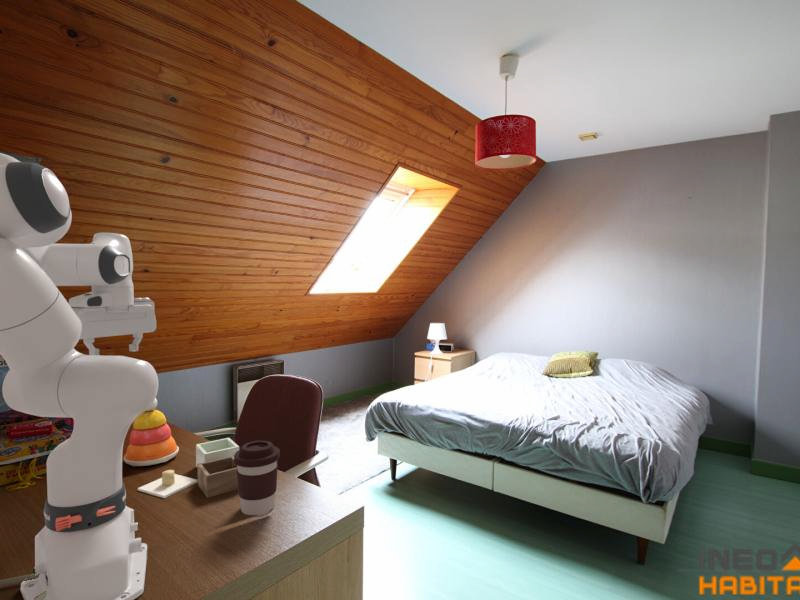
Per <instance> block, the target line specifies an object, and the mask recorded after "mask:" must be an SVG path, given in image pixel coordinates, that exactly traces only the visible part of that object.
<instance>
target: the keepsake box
mask: <svg viewBox="0 0 800 600" xmlns="http://www.w3.org/2000/svg"><path fill="white" fill-rule="evenodd" d="M196 469H197V480H198V482H197V485H198V487H199V489H200V490H201V491H202V493H203V494H204V495H205V497H206V498H207V499H209V498H212V497H215V496H219V495H222V494H223V495H224V494H226V493H230V492H234V491H238V481H237V469H238V468H237V465H236V464H235V463H234V456H230V457H226V458H221V459H217V460H213V461H208V462H204V463H200V464H197V467H196ZM216 472H217V473H216Z"/></svg>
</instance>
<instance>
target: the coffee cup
mask: <svg viewBox="0 0 800 600" xmlns="http://www.w3.org/2000/svg"><path fill="white" fill-rule="evenodd" d="M280 452H281V450H280V448H279V447H277V446H275V445H274V444H273V442H271V441H268V440H254V441H250V442H246V443H244V444H243V445H241V448H239V451H237V452H236V453H235V454H234V463H235V464H236V465H237V468H238V469H237V481H238V490H237V491H238V492H237V493H238V496H239V500H240V501H239V502H240V512H242V513H243V514H244V515H248V516H252V518H260V517H264V516H266V515H268V514H270V513H271V512H273V510H272V509H274V507H275V503H276V491H277V486H278V485H277V484H278V483H277V482H278V468H279V467H278V466H279V465H278V460H279V459H280V457H281V453H280Z"/></svg>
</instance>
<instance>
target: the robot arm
mask: <svg viewBox="0 0 800 600" xmlns="http://www.w3.org/2000/svg"><path fill="white" fill-rule="evenodd" d="M72 216H73V214H72V210H71V205H70V200H69V196H68V192H67V191H66V188H65V187H64V185H63V184H62V182H61V181H60V180H59V179H58V176H57V175H56V174H55V173H54V172H53V171H52V170H51V169H49V168H47V167H45V166H43V165H41V164H39V163H36V162H32V161H29V162H27V161H20V160H18V159H17V158H15V157H14V156H11V155H8V154H5V153H2V152H0V356H1V357H2V358H3V359H4V361H5V362H6V363H5V364H7V366H8V369H9V370H8V371H7V373H6V375H5V377H4V379H3V382H2V386H1V387H2V388H1V389H2V390H1V392H2V397H3V399H4V402H5V404H6V405H7V407H9V409H12V410H14V411H16V412H20V413H24V414H27V415H32V416H36V417H40V418H71V419H73V427H72V429H73V430H72V433H71V435H70V437H69V438H67V439H66V440H64V441H63V442H61V443H59V444H58V445H57V446H55V448H54V449H52V451H51V452H50V453H49V455H48V456H47V459H46V485H47V486H46V489H47V490H46V491H47V493H46V494H47V495H46V496H47V498H46V499H45V500H44V501H45V502H44V508H43V516H44V526H43V527H42V529H41V530H40V531H38V533H37V534H36V535H35V537H34V565H35V566H34V567H33V569H32V572H33V575H34V574H35V576H36V575H38V574H40V575H39V577H38V578H36V579H32V580H27V581H24V580H23V581H22V582H21V583H20V593H21V595H22V598H23V600H34V598H35V597H36V596H38V595H40V594H41V593H43V592H44V591H47V595H46V597H45V598H44V599H43V600H135V599H137V598H138V597H140V596H141V595H143V593H144V589H145V580H146V571H147V570H146V569H147V561H148V552H149V551H148V550H149V549H148V544H147V543H144V542H142V537H136V536H135V531H138V530H139V526H138V525H139V522H135V509H133V508H131V507H129V506H127V502H126V501H127V500H126V497H127V490H126V485H125V482H123V454H124V452H123V451H124V450H123V448H124V445H125V444H124V443H125V439H126V436H127V434H128V432H129V429H130V428H131V427H132V426H131V425H133V423H134V420H135V419H136V418H137V417H138V416H139V415H140V414H142V413H143V412H144V411H146V410H147V409H148V408H149V407H150V405H151V404H152V403H153V401H154V399H155V398H157V395H158V391H159V384H160V382H159V377H158V374H157V371H156V369H155V367H154V366H153V365H152V364H151V363H150V362H148V361H146V360H142V359H138V358H134V357H129V356H125V355H100V348H96V347H95V346H94V344H93V343H95V339H96V338H104V337H105V338H107V337H115V336H125V335H126V336H127V335H132V338H134V339H133V341H132V343H131V344H128V347H129V349H128V350H129V352H139V349H140V347H139V345H140V343H141V341H142V339H143V338H144V336H143V335H144V333H146V334H147V333H154V332H155V331H156V329H157V318H156V314H155V313H156V312H155V309H156V308H155V302H154V301H153V300H152V299H150V298H149V297H135V295H134V291H135V290H134V287H135V286H134V283H133V280H132V278H133V277H132V275H133V271H134V259H133V258H134V257H133V252H132V246H131V241H130V239H129V237H128V236H126V235H124V234H122V233H118V232H112V231H111V232H110V231H100V232H97V233H94V234H93V237H92V242H90V243H57V242H58V241H60V240H61V239H62V238H63V237H64V236H65V235H66V234H67V233H68V231H69V229H70V227H71V226H72V225H71V224H72V220H73V219H72V218H73V217H72ZM89 286H90V287H91V291H90V292H86V293H83V294H80V295H77V296H74V297H70V298H69V299H68V300H67V299H66V298H65V297H64V295H63V294H62V292H61V291H60V290H59V288H60V287H89ZM58 287H59V288H58ZM80 340H83V344H84V345H85V347H86V348H87V349H88V354H84V353H82V352H80V351H78V350H76V349H75V347H76V346H77V344H78V343H79V342H80ZM135 537H136V538H135Z"/></svg>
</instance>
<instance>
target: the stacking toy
mask: <svg viewBox="0 0 800 600" xmlns="http://www.w3.org/2000/svg"><path fill="white" fill-rule="evenodd" d="M157 407H158V400H157V397H155V399H154V401H153V403H152V404H151V405H150V407H149V408H148V409H147V410H146V411H144V412H143V413H142V414H140V415H139V416H138V417H137V418H136V419H135V420H134V421H133V423H132V428H133V429H132V430H131V432H130V435H129V444H128V446H127V448H126V453H125V454H124V456H123V461H124V463H125V464H127V465H129V466H131V467H145V466H146V467H147V466H152V465H153V466H155V465H158V464H161V463H162V464H163V463H166V462H168V461H170V460H171V459H173V458H174V457H176V456H177V455H178V453H179V450H180V447H179V446H178V445H177V443H176V440H175V439H174V437H173V436H172V430H171V428H170V426H169V424H168V423H167V418H166V416H165V414H164V413H163V412H162V411H160V410H158V409H156V408H157Z"/></svg>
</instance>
